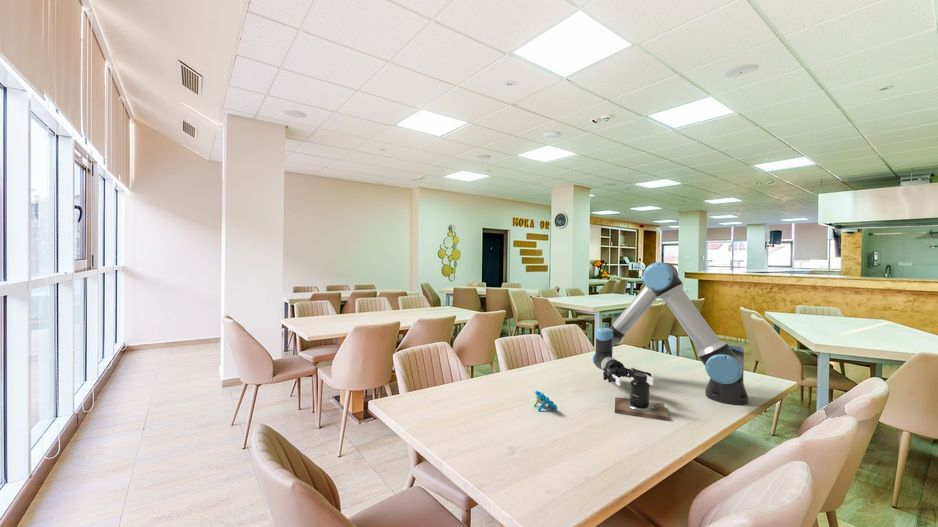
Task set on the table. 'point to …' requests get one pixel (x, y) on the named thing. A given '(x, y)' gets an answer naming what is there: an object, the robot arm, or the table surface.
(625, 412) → the walnut board
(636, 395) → the supplement bottle
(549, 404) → the gear
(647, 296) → the robot arm
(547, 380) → the table surface
